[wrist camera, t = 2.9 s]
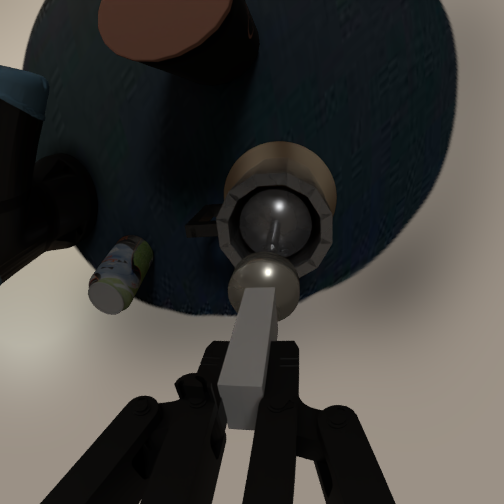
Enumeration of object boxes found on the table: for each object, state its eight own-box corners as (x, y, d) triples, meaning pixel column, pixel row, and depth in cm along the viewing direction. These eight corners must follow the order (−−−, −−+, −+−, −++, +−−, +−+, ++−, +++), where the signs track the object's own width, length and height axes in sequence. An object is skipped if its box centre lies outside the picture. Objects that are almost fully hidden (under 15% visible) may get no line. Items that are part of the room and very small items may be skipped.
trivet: (231, 250, 42) (230, 252, 41) (219, 146, 36) (217, 146, 36) (336, 247, 40) (336, 248, 39) (333, 139, 34) (334, 139, 34)
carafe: (218, 239, 41) (191, 283, 30) (208, 163, 37) (173, 181, 26) (321, 234, 39) (331, 280, 28) (318, 156, 35) (331, 171, 24)
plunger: (244, 255, 31) (215, 339, 19) (237, 190, 28) (196, 241, 16) (312, 253, 30) (321, 339, 18) (309, 186, 27) (323, 236, 15)
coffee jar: (278, 55, 31) (265, 0, 15) (205, 102, 34) (136, 91, 18) (229, -3, 28) (184, -75, 12) (161, 44, 32) (78, 7, 15)
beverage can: (134, 223, 42) (88, 257, 31) (169, 258, 44) (133, 303, 33) (113, 249, 44) (69, 287, 33) (146, 282, 46) (110, 327, 35)
